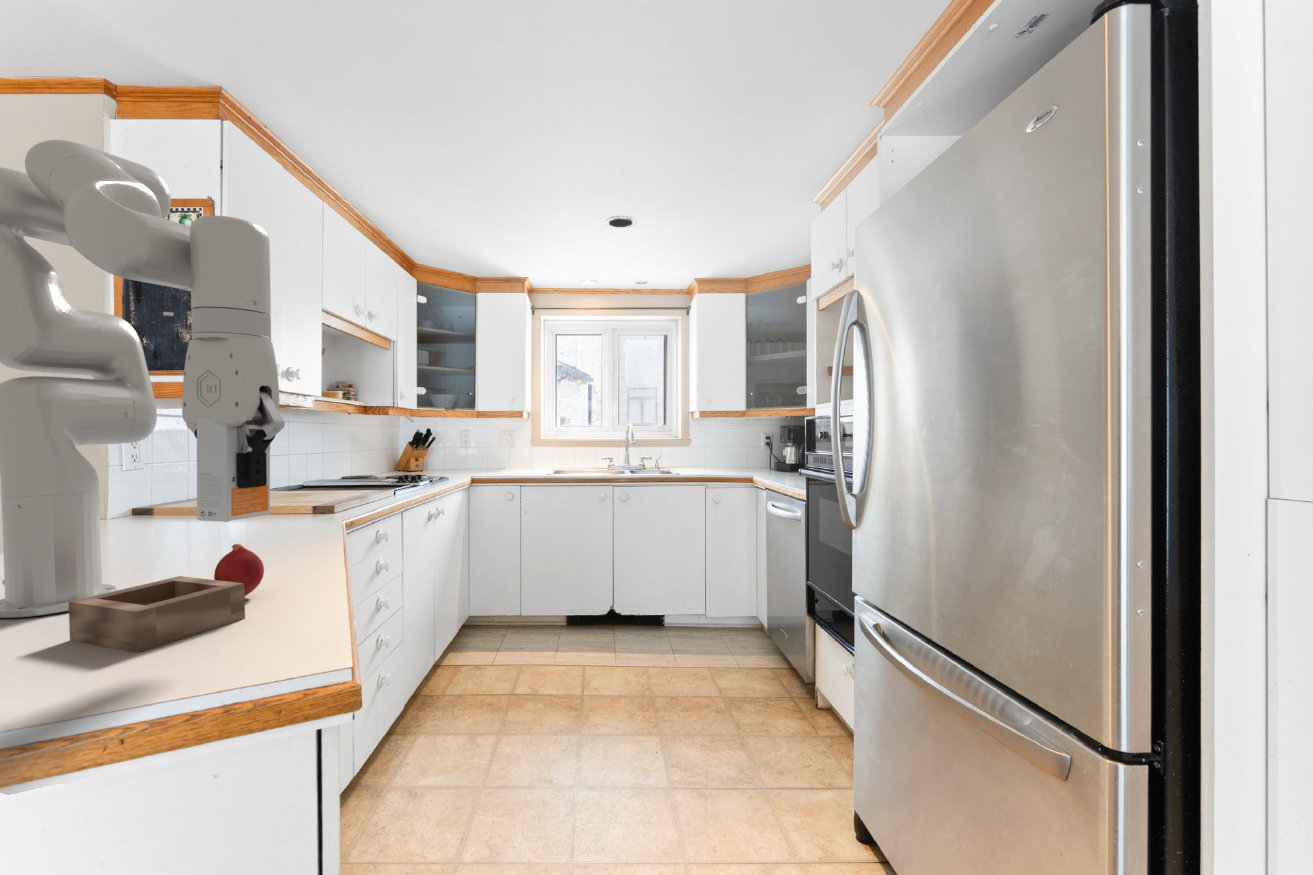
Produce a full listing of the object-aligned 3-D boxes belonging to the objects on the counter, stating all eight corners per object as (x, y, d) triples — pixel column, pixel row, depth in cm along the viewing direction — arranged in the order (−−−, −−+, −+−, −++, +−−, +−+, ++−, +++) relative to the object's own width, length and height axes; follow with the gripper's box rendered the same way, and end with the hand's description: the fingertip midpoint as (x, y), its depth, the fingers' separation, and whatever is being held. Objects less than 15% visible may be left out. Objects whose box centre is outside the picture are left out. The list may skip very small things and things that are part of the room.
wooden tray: (69, 640, 69) (68, 601, 69) (180, 609, 81) (179, 576, 81) (138, 652, 66) (137, 611, 65) (245, 618, 77) (244, 583, 77)
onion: (241, 591, 89) (240, 538, 89) (274, 594, 88) (273, 539, 87) (204, 603, 83) (203, 546, 83) (239, 606, 82) (237, 548, 82)
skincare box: (227, 522, 66) (225, 415, 66) (196, 521, 67) (193, 415, 67) (272, 514, 72) (271, 415, 72) (243, 513, 73) (241, 415, 73)
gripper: (146, 327, 68) (150, 486, 69) (255, 320, 63) (257, 493, 63) (213, 336, 75) (216, 480, 76) (316, 330, 70) (318, 485, 71)
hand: (235, 484), depth 70 cm, fingers closed on skincare box, 4 cm apart
